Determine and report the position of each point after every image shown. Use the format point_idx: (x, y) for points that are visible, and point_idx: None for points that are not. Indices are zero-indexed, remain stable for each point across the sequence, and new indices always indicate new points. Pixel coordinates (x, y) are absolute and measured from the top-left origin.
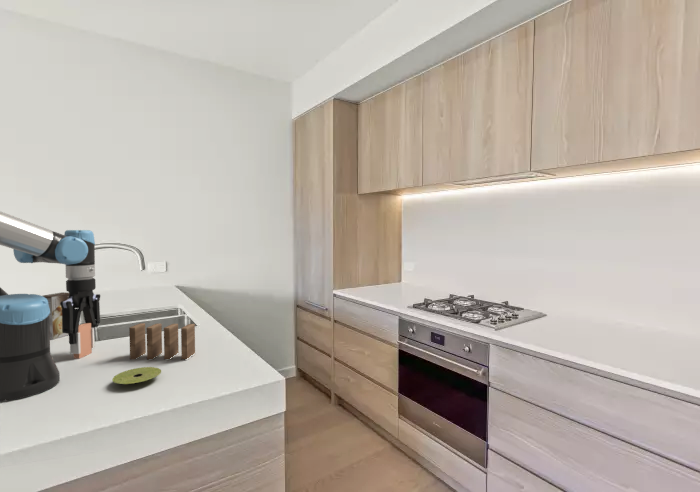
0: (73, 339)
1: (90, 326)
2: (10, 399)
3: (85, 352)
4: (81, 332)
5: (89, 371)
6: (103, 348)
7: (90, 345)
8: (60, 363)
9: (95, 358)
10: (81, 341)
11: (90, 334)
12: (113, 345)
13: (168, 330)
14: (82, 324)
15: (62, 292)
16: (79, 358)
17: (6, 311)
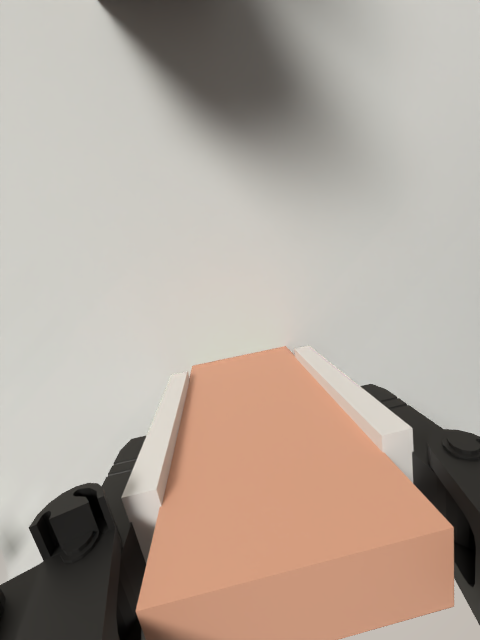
0: (402, 407)
1: (169, 532)
2: None
3: (242, 363)
4: (331, 454)
5: (449, 88)
6: (100, 378)
7: (197, 387)
8: (361, 370)
9: (263, 257)
10: (297, 395)
11: (187, 441)
12: (27, 372)
13: None
14: (278, 633)
15: None
16: (285, 346)
17: None
